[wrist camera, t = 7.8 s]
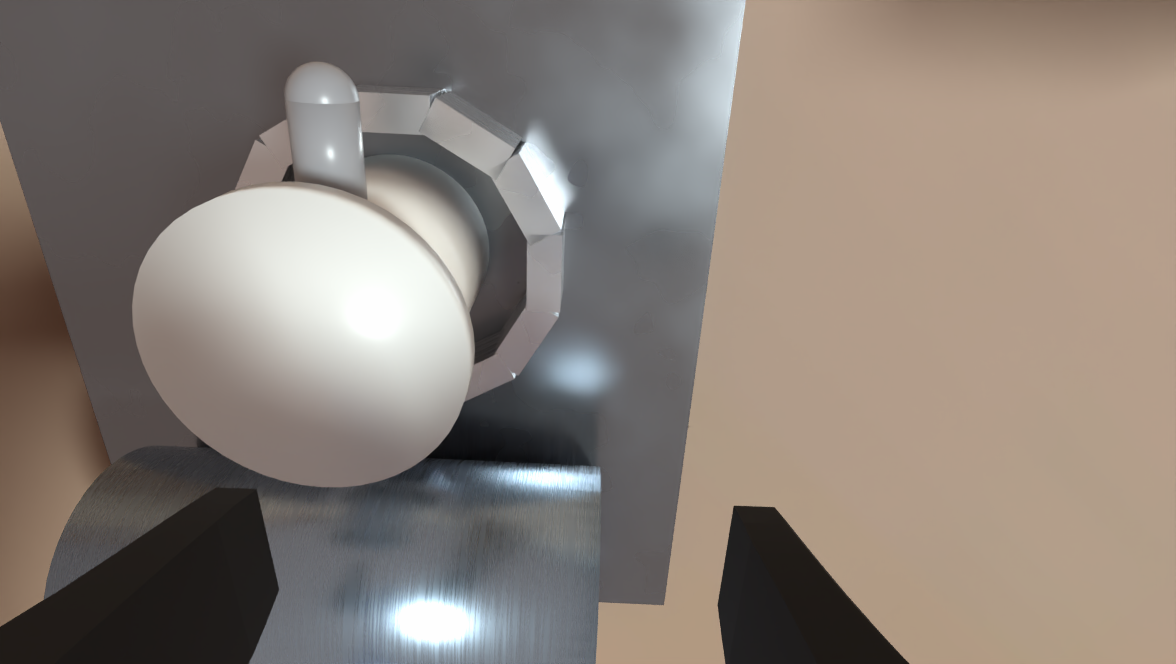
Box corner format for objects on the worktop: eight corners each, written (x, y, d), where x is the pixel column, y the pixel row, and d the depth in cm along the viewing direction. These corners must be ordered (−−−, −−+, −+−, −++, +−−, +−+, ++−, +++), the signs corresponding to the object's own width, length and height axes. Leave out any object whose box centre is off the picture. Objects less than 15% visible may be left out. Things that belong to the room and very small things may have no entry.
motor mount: (660, 577, 23) (686, 799, 16) (170, 554, 23) (-3, 769, 16) (735, -3, 15) (839, -21, 9) (-7, -42, 15) (-473, -92, 8)
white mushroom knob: (509, 350, 18) (471, 496, 12) (302, 338, 18) (171, 478, 12) (513, 60, 15) (464, 83, 9) (261, 43, 15) (60, 55, 9)
